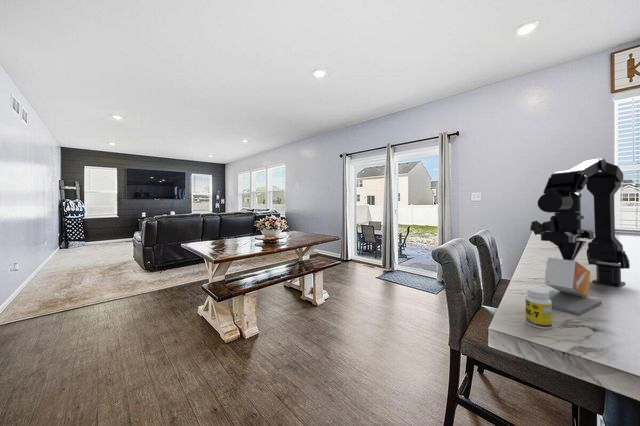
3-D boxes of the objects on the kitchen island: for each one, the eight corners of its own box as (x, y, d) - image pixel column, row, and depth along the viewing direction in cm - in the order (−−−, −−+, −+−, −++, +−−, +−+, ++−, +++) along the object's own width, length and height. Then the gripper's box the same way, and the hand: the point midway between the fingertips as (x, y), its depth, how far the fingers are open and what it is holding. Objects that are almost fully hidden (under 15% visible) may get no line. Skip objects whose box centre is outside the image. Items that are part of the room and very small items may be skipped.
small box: (588, 298, 74) (573, 289, 68) (560, 292, 80) (543, 283, 74) (591, 271, 75) (576, 260, 70) (563, 267, 81) (547, 257, 75)
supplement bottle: (520, 321, 62) (519, 287, 62) (538, 319, 63) (537, 286, 62) (539, 330, 57) (538, 294, 57) (557, 328, 58) (557, 292, 58)
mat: (552, 292, 81) (552, 290, 81) (601, 303, 71) (601, 300, 71) (528, 301, 74) (528, 299, 74) (578, 315, 64) (578, 312, 64)
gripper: (548, 212, 87) (549, 257, 87) (519, 213, 79) (520, 262, 78) (594, 212, 77) (595, 262, 77) (567, 212, 69) (568, 269, 68)
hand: (568, 263), depth 75 cm, fingers closed
